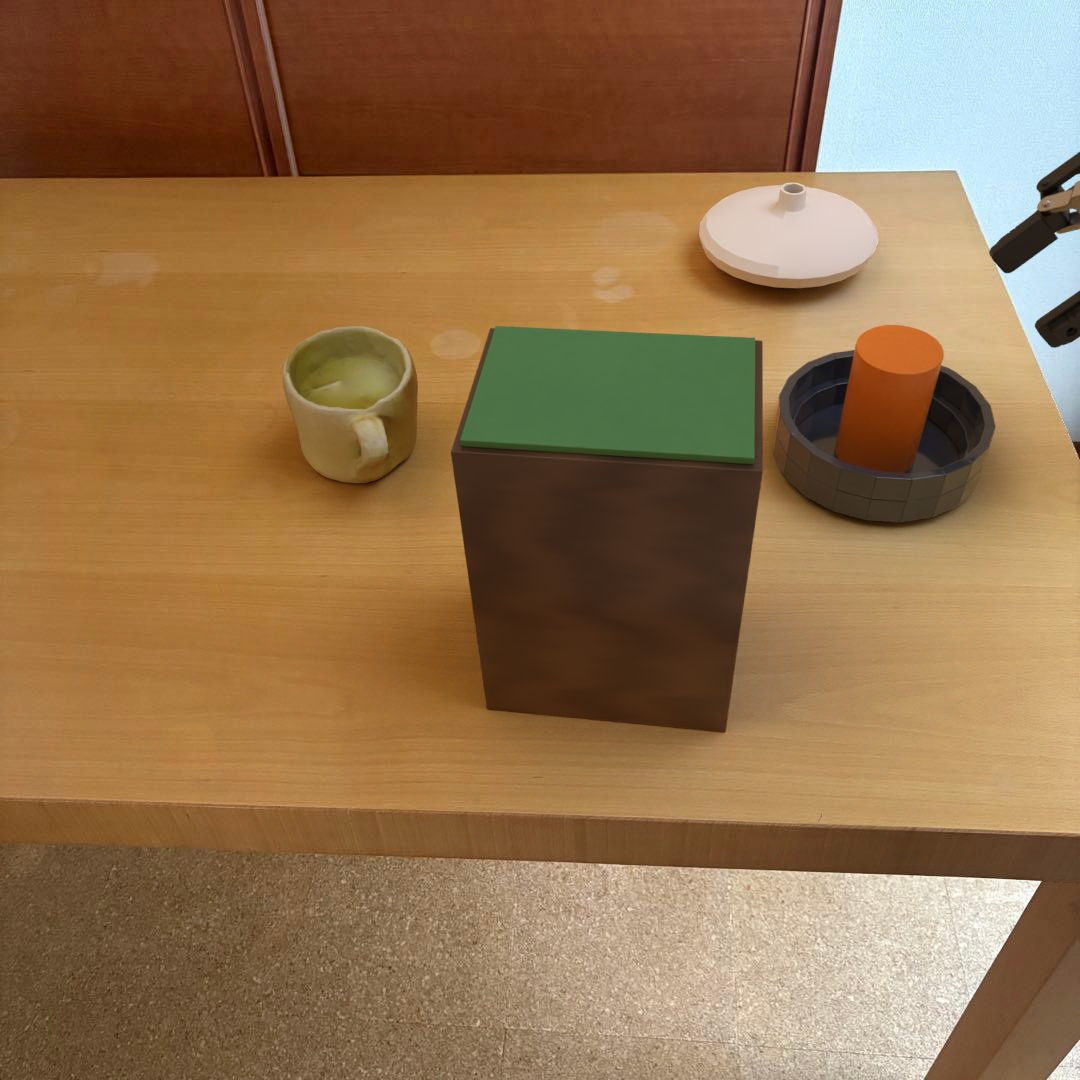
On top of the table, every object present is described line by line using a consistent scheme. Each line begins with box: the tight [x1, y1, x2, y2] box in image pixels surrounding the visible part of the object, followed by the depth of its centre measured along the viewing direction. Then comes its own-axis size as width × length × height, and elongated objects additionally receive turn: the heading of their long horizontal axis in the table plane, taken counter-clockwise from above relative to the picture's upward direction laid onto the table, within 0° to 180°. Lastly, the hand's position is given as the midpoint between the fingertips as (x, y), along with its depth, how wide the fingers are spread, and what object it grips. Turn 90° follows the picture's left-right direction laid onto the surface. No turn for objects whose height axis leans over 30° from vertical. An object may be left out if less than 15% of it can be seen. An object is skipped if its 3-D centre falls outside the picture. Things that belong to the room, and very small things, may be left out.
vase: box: [698, 182, 880, 289], centre depth 92 cm, size 16×16×7 cm
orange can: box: [835, 324, 945, 473], centre depth 72 cm, size 6×6×9 cm
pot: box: [772, 349, 996, 523], centre depth 74 cm, size 14×14×4 cm
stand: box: [450, 327, 764, 733], centre depth 57 cm, size 14×10×20 cm
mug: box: [282, 325, 419, 484], centre depth 75 cm, size 12×10×10 cm
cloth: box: [460, 325, 756, 464], centre depth 50 cm, size 13×9×1 cm
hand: (1018, 299), depth 66 cm, fingers open, 8 cm apart
